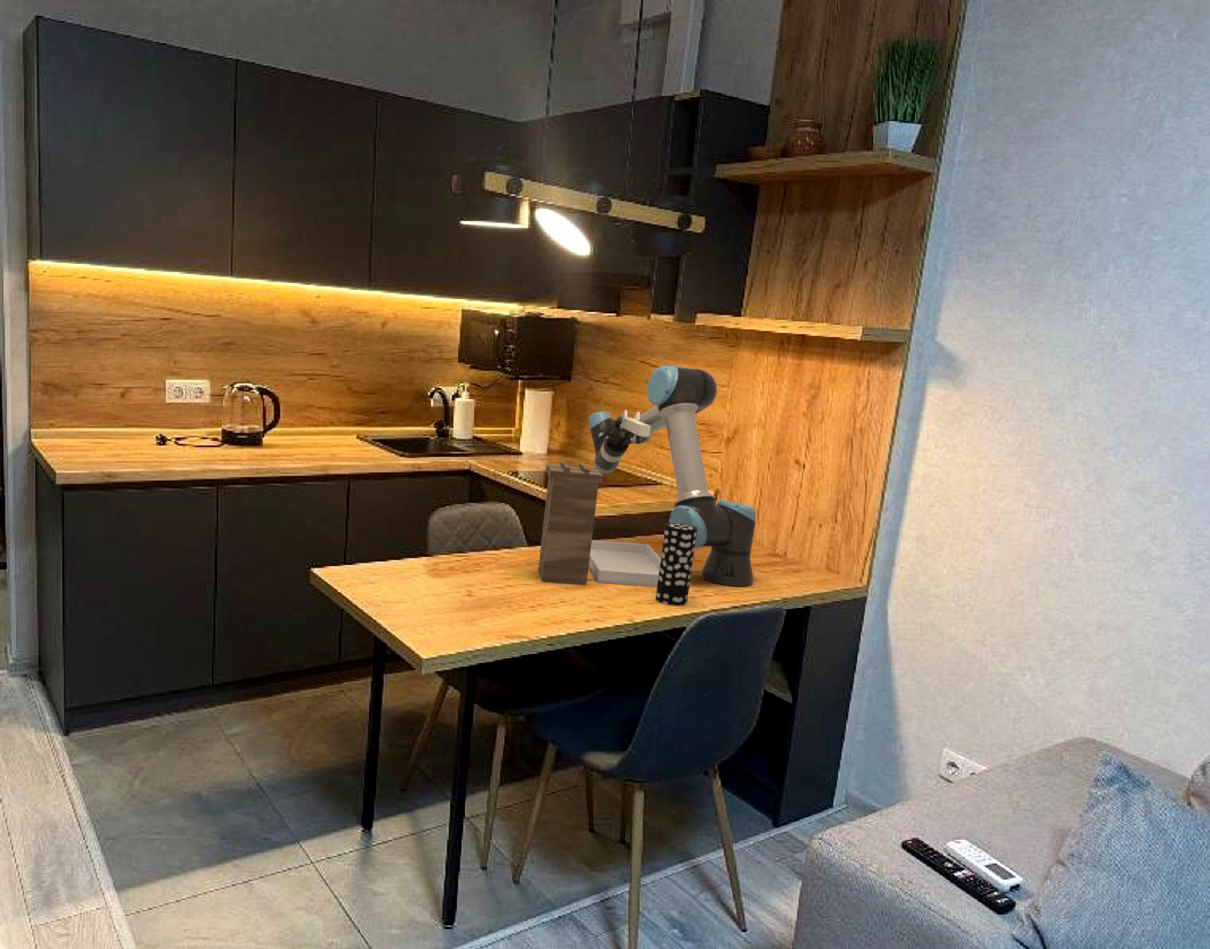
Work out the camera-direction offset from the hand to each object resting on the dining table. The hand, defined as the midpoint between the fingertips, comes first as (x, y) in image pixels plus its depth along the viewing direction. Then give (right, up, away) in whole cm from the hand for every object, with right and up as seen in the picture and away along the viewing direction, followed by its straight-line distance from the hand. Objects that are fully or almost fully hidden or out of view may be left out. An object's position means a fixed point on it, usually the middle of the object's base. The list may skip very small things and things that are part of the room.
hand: (632, 415), depth 271 cm
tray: (-2, -45, +2) cm, 45 cm away
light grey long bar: (0, -5, -4) cm, 6 cm away
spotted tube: (+9, -51, -28) cm, 59 cm away
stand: (-20, -46, -18) cm, 53 cm away
